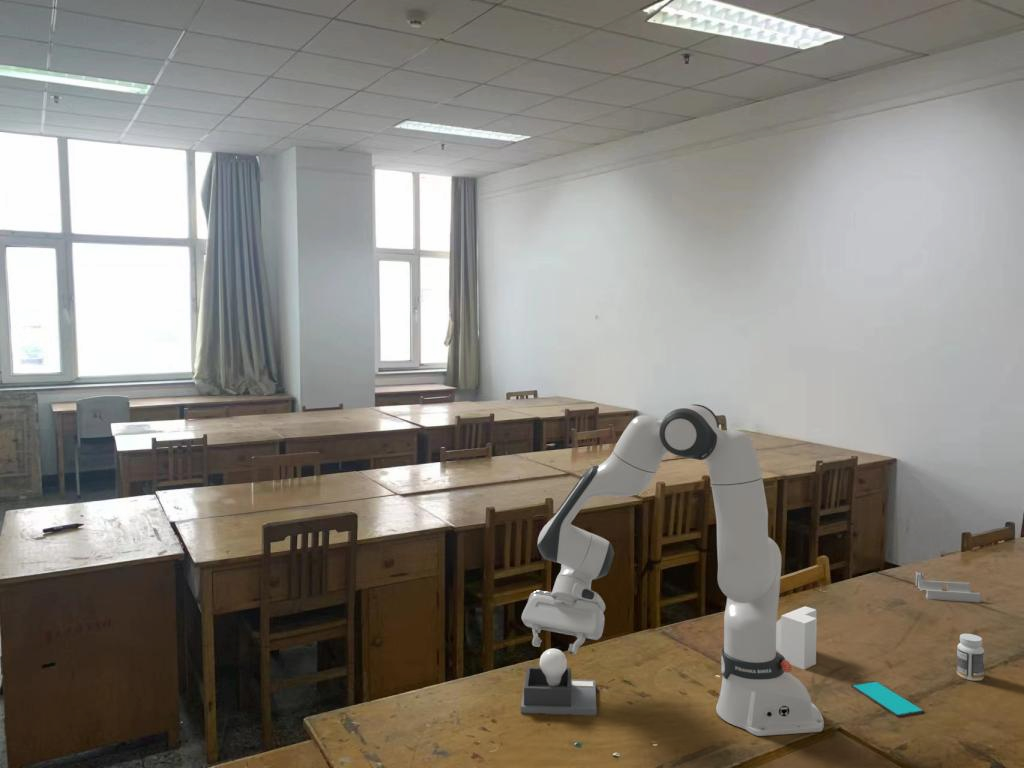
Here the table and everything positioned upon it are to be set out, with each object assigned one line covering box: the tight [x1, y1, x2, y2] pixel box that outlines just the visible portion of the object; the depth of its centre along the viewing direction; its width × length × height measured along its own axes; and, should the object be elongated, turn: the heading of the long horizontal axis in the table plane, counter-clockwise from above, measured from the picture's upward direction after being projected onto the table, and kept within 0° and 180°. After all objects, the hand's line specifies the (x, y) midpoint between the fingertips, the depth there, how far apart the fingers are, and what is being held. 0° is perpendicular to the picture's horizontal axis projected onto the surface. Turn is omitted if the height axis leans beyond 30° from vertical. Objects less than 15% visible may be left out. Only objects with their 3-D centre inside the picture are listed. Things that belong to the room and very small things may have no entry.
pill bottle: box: [956, 633, 985, 682], centre depth 182 cm, size 6×6×10 cm
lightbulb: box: [539, 648, 568, 687], centre depth 172 cm, size 6×6×11 cm
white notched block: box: [776, 605, 818, 670], centre depth 194 cm, size 11×11×12 cm
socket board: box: [520, 666, 597, 716], centre depth 173 cm, size 17×14×6 cm
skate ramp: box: [915, 571, 982, 603], centre depth 240 cm, size 15×13×5 cm
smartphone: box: [850, 680, 925, 718], centre depth 172 cm, size 7×1×15 cm
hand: (553, 649), depth 174 cm, fingers open, 8 cm apart
